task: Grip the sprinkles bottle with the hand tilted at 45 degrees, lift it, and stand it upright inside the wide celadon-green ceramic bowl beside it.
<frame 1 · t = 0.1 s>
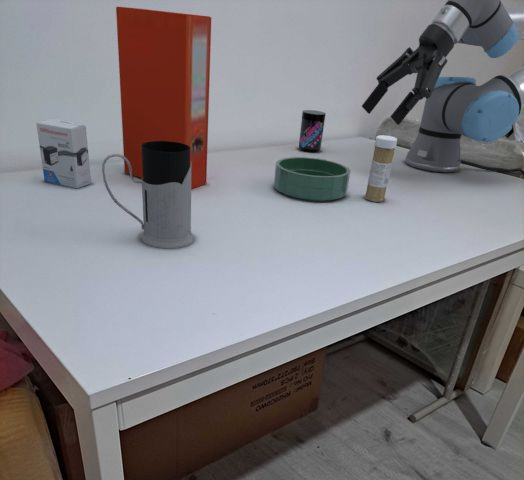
hand: (379, 115, 124), 15 cm above the table, tool tilted 35°, fingers open, 13 cm apart
ink box: (68, 183, 110), on the table
sprinkles bottle: (374, 200, 119), on the table
bowl: (309, 191, 120), on the table
file binder: (165, 179, 119), on the table
supplement container: (309, 150, 156), on the table
glass holder: (151, 239, 89), on the table
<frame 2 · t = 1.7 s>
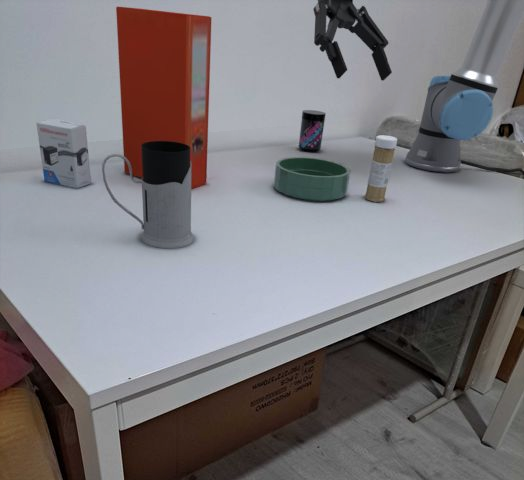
hand: (365, 75, 113), 24 cm above the table, tool tilted 45°, fingers open, 13 cm apart
nothing on the table moved.
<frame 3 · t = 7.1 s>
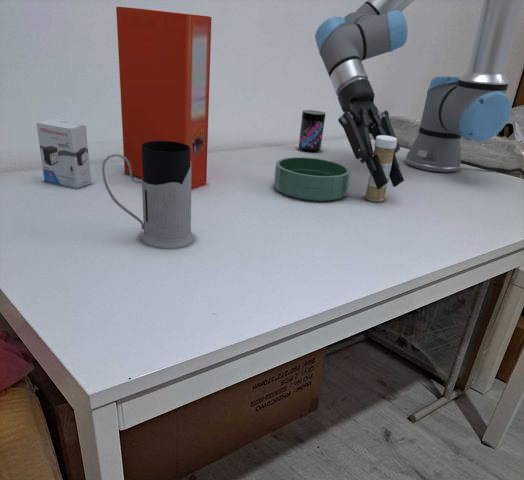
hand: (390, 184, 114), 4 cm above the table, tool tilted 45°, fingers closed on sprinkles bottle, 4 cm apart
sprinkles bottle: (374, 200, 119), on the table, touching gripper
everything else where it was.
when the fingers open (5 cm above the table, at t = 15.4 s): sprinkles bottle stays where it is, resting on bowl.
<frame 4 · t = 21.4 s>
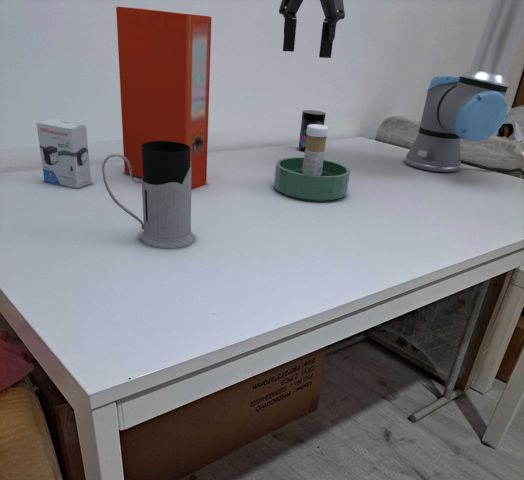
hand: (305, 54, 118), 26 cm above the table, tool pointing down, fingers open, 13 cm apart
sprinkles bottle: (309, 189, 120), resting on bowl
everything else where it was.
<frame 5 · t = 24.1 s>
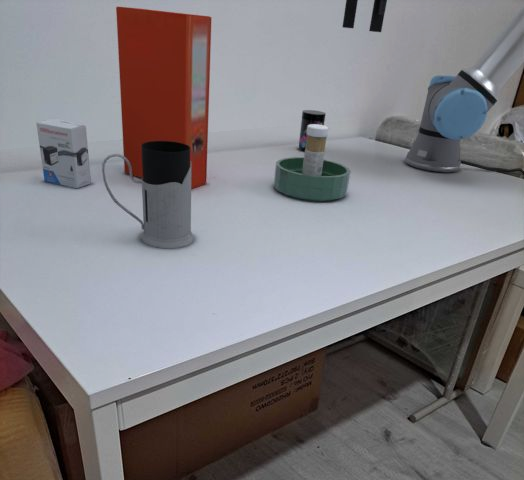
hand: (360, 30, 125), 32 cm above the table, tool pointing down, fingers open, 13 cm apart
nothing on the table moved.
at the end: sprinkles bottle inside the target area in the bowl (0.1 cm from its centre), point 0.4 cm above the bowl's base; sprinkles bottle tilted 0°; the gripper is holding nothing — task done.
